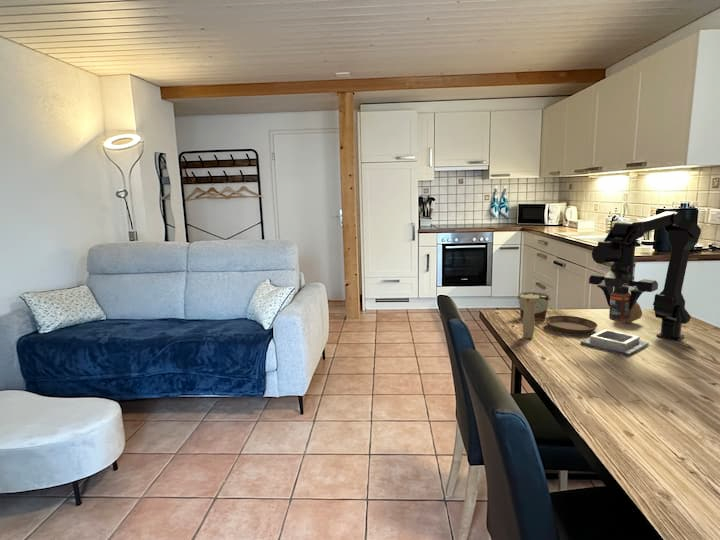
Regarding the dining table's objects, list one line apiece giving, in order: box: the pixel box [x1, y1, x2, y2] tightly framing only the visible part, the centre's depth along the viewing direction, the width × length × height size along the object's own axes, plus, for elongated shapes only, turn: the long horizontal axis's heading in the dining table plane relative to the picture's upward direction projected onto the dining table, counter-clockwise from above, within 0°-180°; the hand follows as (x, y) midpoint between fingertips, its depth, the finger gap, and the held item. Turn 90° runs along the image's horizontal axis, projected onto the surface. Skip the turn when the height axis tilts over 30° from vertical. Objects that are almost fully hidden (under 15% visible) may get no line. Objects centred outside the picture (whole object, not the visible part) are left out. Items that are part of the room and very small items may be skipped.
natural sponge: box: [624, 301, 643, 324], centre depth 168 cm, size 9×9×10 cm
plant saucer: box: [544, 315, 598, 336], centre depth 163 cm, size 18×18×3 cm
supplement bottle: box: [608, 285, 631, 323], centre depth 142 cm, size 6×6×11 cm
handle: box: [520, 295, 539, 339], centre depth 154 cm, size 5×6×15 cm
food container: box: [517, 291, 551, 321], centre depth 179 cm, size 12×6×10 cm, turn 71°
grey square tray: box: [580, 328, 650, 358], centre depth 145 cm, size 15×15×3 cm
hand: (620, 308), depth 142 cm, fingers closed on supplement bottle, 6 cm apart
